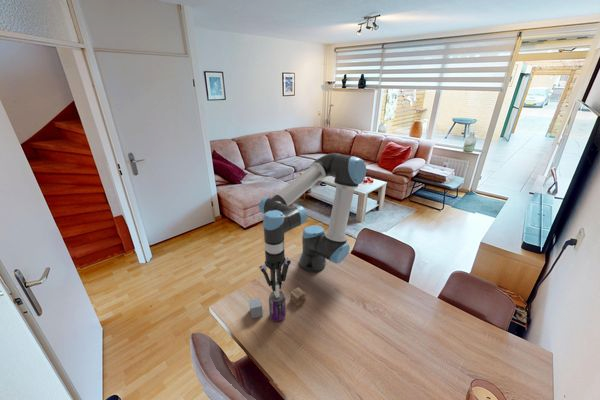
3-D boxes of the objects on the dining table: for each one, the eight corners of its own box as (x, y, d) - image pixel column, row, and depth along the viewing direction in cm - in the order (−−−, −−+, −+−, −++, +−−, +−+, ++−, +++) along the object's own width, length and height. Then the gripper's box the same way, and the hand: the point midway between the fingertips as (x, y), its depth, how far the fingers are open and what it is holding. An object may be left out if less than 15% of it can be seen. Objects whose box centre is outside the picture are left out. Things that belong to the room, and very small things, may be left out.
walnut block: (298, 295, 125) (298, 287, 123) (305, 300, 122) (305, 292, 120) (290, 300, 122) (290, 292, 120) (297, 306, 119) (297, 298, 117)
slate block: (261, 307, 118) (260, 297, 116) (262, 315, 114) (262, 306, 111) (250, 310, 117) (249, 300, 114) (251, 318, 113) (250, 308, 110)
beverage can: (285, 322, 111) (284, 302, 106) (268, 322, 111) (267, 301, 106) (286, 309, 117) (285, 289, 112) (270, 309, 117) (269, 289, 112)
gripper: (286, 240, 105) (287, 284, 115) (255, 248, 100) (259, 294, 109) (294, 249, 99) (294, 295, 108) (261, 259, 93) (265, 306, 103)
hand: (276, 295), depth 109 cm, fingers closed
